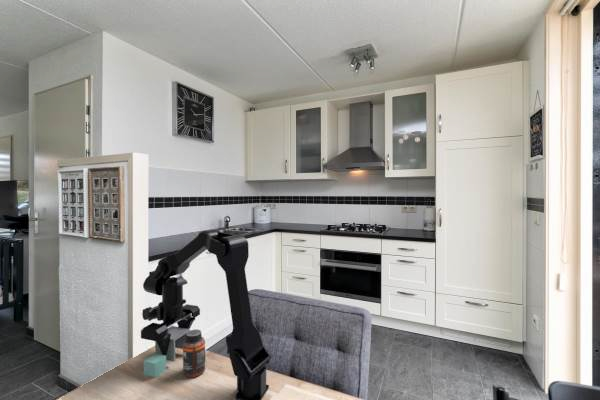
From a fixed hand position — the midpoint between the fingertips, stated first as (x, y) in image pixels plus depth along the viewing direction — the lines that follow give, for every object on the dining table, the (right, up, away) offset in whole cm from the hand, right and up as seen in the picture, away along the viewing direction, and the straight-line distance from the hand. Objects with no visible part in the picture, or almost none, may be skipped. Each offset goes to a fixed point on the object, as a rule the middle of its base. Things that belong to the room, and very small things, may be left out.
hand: (173, 348), depth 88 cm
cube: (-2, -3, -6) cm, 8 cm away
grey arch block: (0, -2, 0) cm, 2 cm away
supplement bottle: (+9, -4, -6) cm, 12 cm away
